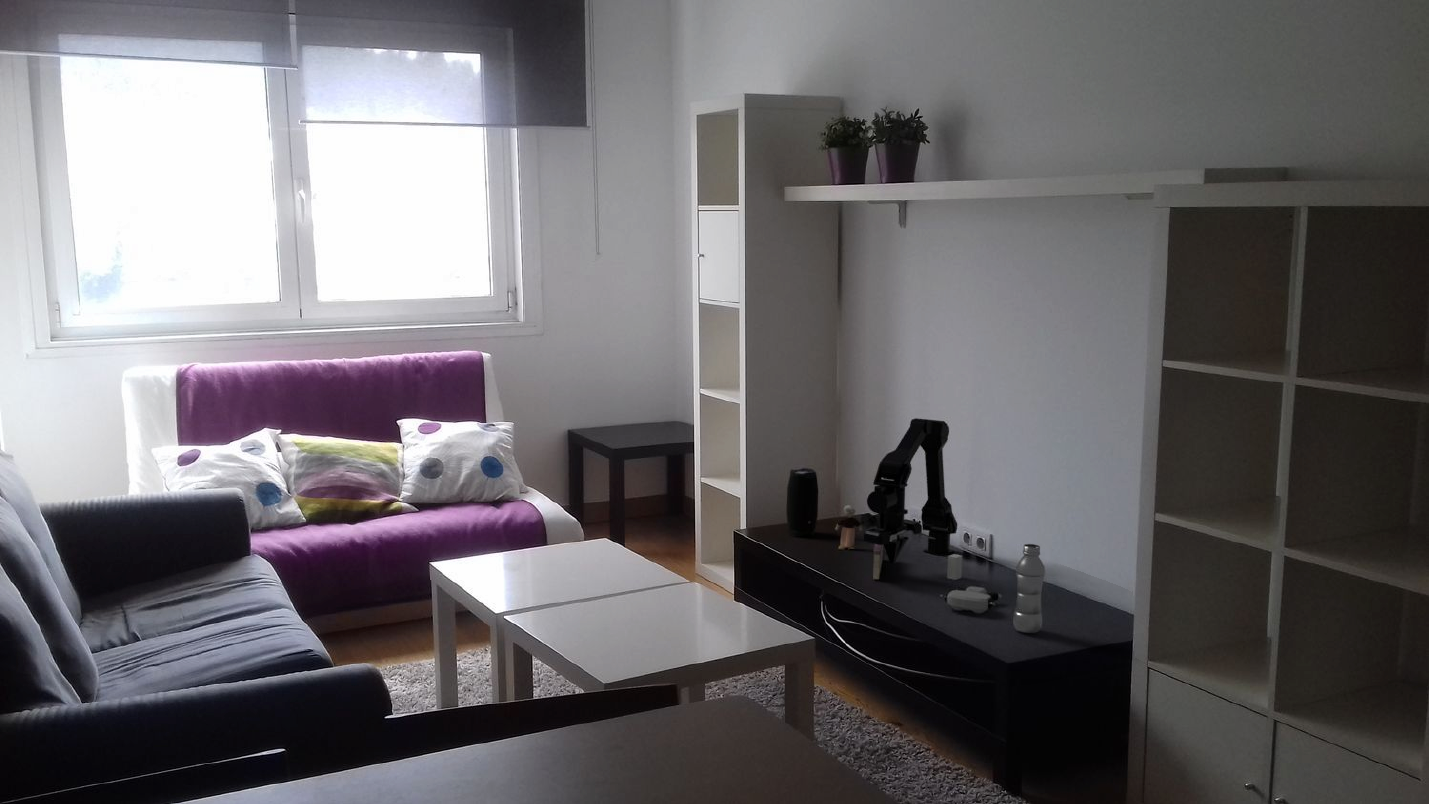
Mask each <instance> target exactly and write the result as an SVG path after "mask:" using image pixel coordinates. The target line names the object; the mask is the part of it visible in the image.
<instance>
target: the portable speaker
mask: <svg viewBox="0 0 1429 804" xmlns="http://www.w3.org/2000/svg"><path fill="white" fill-rule="evenodd" d="M789 471H790V472H789V477H788V482H787V483H788V484H787V487H786V509H785V511H786V523H787V530H788V531H787V532H788V533H789V534H790V536H791V537H796V538H797V537H798V538H802V536H804V535H809V536H810V537H813V536H815V533H816V532H815V531H816V527H817V521H818V516H819V515H818V514H819V513H818V512H819V484H818V476H817V472H816V471H815V470H814V469H812V468H808V467H802V468H800V469H799V468H798V469H790V470H789Z"/></svg>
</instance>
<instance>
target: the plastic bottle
mask: <svg viewBox="0 0 1429 804" xmlns="http://www.w3.org/2000/svg"><path fill="white" fill-rule="evenodd" d="M1022 554H1023V556H1022V557H1021V558H1020V559H1019V561H1018V563H1017V564H1016V569H1015V572H1016V581H1017V582H1016V583H1017V586H1016V587H1017V589H1016V590H1017V597H1016V602H1015V603H1016V604H1015V609H1014V613H1013V619H1012V621H1013V627H1014V628H1015V630H1017V631H1018V632H1020V633H1025V634H1035V633H1039V632H1040V630H1041V629H1042V626H1043V616H1042V615H1043V614H1042V591H1043V583H1044V579H1045V574H1046V568H1045V565H1044V563H1043V561H1042V560H1041V558H1040V557H1039V556H1040V555H1041V546H1040V545H1038V544H1033V543H1026V544H1024V545H1023V549H1022Z"/></svg>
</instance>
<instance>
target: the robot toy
mask: <svg viewBox="0 0 1429 804" xmlns="http://www.w3.org/2000/svg"><path fill="white" fill-rule="evenodd" d="M1002 596H1003V595H1002V594H999V593H998V592H996V591H995V592H989V593H988V590H987V589H986V588H984V587H980V586H968V587H967V588H966V589H965V588H964V587H957V588H956V590H951V591H949V592H947V593H946V594H945V595H943V594H940V597H942V598H943V599H944V601H945V603H947V606H948V607H949V606H950V607H952V608H953V610H955V611H957V610H958V611H959V612H960V611H964V610H966V611H967V610H968V611H972V612H973V613H975V614H979V615H980V614H981V615H982V614H983V613H985V612H986V611H988V610H990V609H992V608H993V606H995V605H996V603H995V601H998V600H999V599H1001V598H1002Z"/></svg>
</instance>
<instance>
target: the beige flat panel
mask: <svg viewBox="0 0 1429 804" xmlns="http://www.w3.org/2000/svg"><path fill="white" fill-rule="evenodd" d="M872 552H873V553H872V554H873V571H872V577H873V579H872V580H880V576H881V575H880V574H881V570H882V564H883V560H884V559H885V547H884V545H878V544H874V547H873V551H872Z"/></svg>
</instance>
